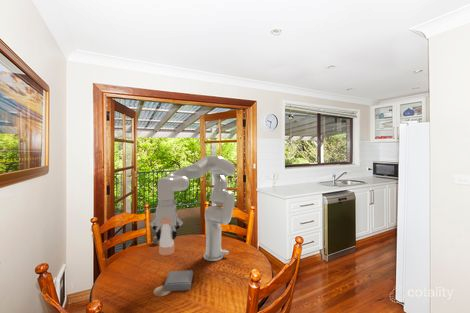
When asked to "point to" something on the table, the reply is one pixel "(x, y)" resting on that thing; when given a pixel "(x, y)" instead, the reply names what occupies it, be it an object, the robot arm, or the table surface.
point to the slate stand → (178, 280)
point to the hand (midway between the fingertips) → (166, 238)
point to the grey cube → (156, 241)
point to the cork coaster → (160, 291)
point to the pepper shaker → (166, 238)
